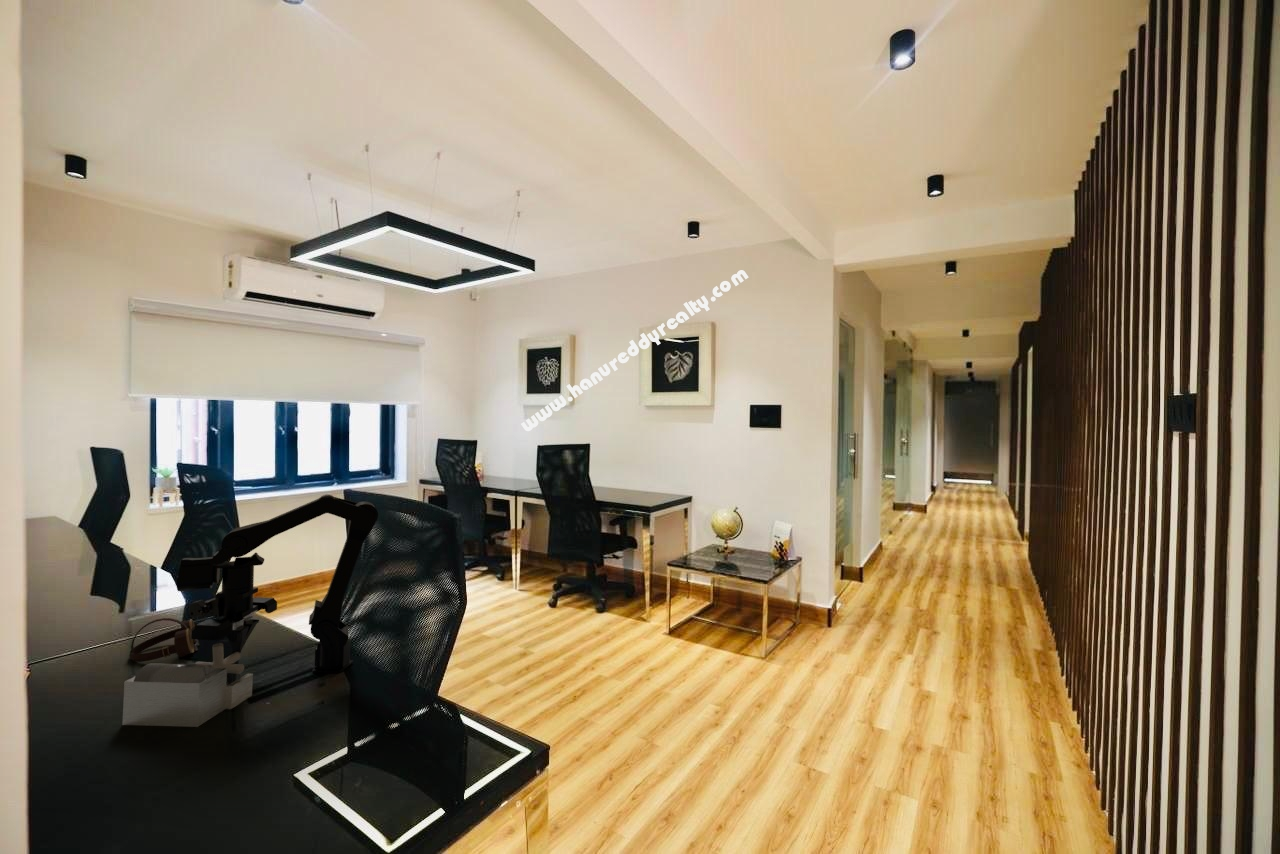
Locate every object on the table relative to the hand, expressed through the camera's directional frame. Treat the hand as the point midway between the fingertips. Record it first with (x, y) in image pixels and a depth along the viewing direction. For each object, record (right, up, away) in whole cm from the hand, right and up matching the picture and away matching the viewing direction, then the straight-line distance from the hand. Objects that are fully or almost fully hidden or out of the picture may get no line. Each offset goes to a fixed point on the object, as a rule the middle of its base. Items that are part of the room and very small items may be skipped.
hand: (236, 655), depth 125 cm
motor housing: (0, -5, -13) cm, 14 cm away
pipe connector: (0, -6, -5) cm, 7 cm away
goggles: (-28, -6, +14) cm, 32 cm away
